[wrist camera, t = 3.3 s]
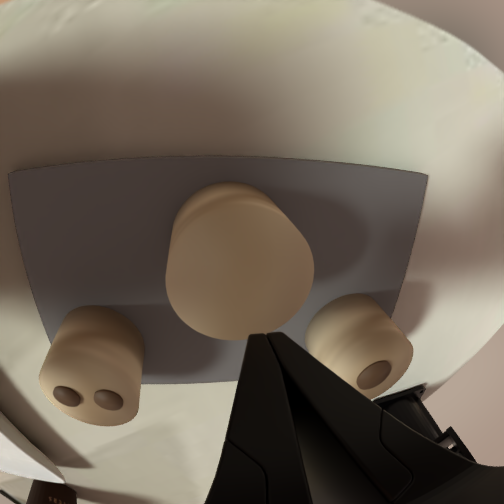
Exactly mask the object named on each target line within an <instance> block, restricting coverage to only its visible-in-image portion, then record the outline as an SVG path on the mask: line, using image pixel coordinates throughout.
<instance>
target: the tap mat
mask: <svg viewBox="0 0 504 504" xmlns="http://www.w3.org/2000/svg"><path fill="white" fill-rule="evenodd" d="M427 177H428V175H425V174H423V173H418V172H412V171H406V170H399V169H392V168H385V167H377V166H369V165H361V164H352V163H342V162H332V161H320V160H307V159H293V158H275V157H249V156H169V157H144V158H127V159H112V160H100V161H89V162H79V163H70V164H61V165H53V166H46V167H39V168H32V169H25V170H19V171H14V172H11V173H9V174H8V179H9V187H10V195H11V202H12V208H13V214H14V220H15V225H16V231H17V235H18V240H19V245H20V249H21V253H22V257H23V261H24V265H25V269H26V273H27V276H28V280H29V283H30V287H31V290H32V293H33V296H34V299H35V303H36V306H37V309H38V311H39V314H40V317H41V320H42V323H43V325H44V328H45V331H46V333H47V336H48V338H49V341H50V343H51V345H52V343H53V340H54V338H55V336H56V334H57V332H58V330H59V327H60V325H61V323H62V321H63V319H64V318H65V316H66V315H67V314H68V313H69V312H70V311H71V310H73V309H75V308H77V307H80V306H86V305H96V306H102V307H106V308H109V309H112V310H114V311H116V312H118V313H120V314H122V315H123V316H125V317H126V318H127V319H129V320H130V321H131V322H132V323H133V324H134V325H135V326H136V327H137V329H138V330H139V332H140V333H141V335H142V337H143V340H144V345H145V352H144V360H143V369H142V378H141V384H191V383H212V382H227V381H238V380H239V375H240V371H241V367H242V362H243V358H244V353H245V349H246V344H247V339H246V340H222V339H217V338H212V337H209V336H206V335H204V334H202V333H199V332H197V331H196V330H194V329H192V328H191V327H190V326H188V325H187V324H186V323H185V322H184V321H183V320H182V319H181V318H180V317H179V316H178V315H177V313H176V312H175V311H174V309H173V307H172V305H171V303H170V301H169V298H168V295H167V291H166V279H165V276H166V269H167V262H168V255H169V248H170V241H171V235H172V229H173V223H174V220H175V217H176V215H177V213H178V211H179V209H180V208H181V206H182V205H183V204H184V202H185V201H186V200H187V199H188V198H189V197H190V196H191V195H193V194H194V193H195V192H197V191H198V190H200V189H202V188H204V187H206V186H208V185H211V184H214V183H219V182H228V181H232V182H241V183H246V184H248V185H251V186H254V187H256V188H257V189H259V190H261V191H262V192H264V193H265V194H266V195H267V196H268V197H269V198H270V199H271V200H272V201H273V202H274V203H275V204H276V205H277V207H278V208H279V209H280V210H281V211H282V212H283V213H284V214H285V215H286V217H287V218H288V219H289V220H290V221H291V222H292V223H293V225H294V226H295V227H296V228H297V229H298V230H299V231H300V233H301V234H302V235H303V237H304V238H305V239H306V241H307V243H308V245H309V247H310V250H311V252H312V256H313V261H314V278H313V283H312V287H311V290H310V292H309V295H308V297H307V299H306V301H305V302H304V304H303V305H302V307H301V308H300V309H299V311H298V312H297V313H296V314H295V315H294V316H293V317H292V318H291V319H290V320H289V321H288V322H286V323H285V324H283V325H282V326H281V327H279V328H277V329H275V330H274V331H272V332H283V333H285V334H286V335H287V336H288V337H290V338H291V339H292V340H293V341H295V342H296V343H297V344H298V345H300V346H301V347H302V348H303V349H305V350H306V351H307V352H308V353H309V351H308V349H307V347H306V344H305V332H306V329H307V327H308V324H309V323H310V321H311V319H312V318H313V317H314V315H315V314H316V313H317V312H318V311H319V310H320V309H321V308H322V307H323V306H325V305H326V304H327V303H329V302H331V301H332V300H334V299H336V298H338V297H341V296H344V295H347V294H355V293H359V294H365V295H368V296H370V297H371V298H373V299H374V300H375V301H376V303H377V304H378V305H379V306H380V307H381V308H382V309H383V311H384V312H385V313H386V314H387V315H388V316H389V318H390V319H391V316H392V313H393V311H394V308H395V305H396V302H397V299H398V296H399V292H400V289H401V286H402V283H403V279H404V276H405V273H406V269H407V266H408V262H409V259H410V255H411V251H412V247H413V243H414V239H415V235H416V231H417V227H418V223H419V218H420V213H421V209H422V204H423V199H424V194H425V188H426V183H427ZM265 335H266V334H265Z"/></svg>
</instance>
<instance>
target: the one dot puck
mask: <svg viewBox="0 0 504 504" xmlns="http://www.w3.org/2000/svg"><path fill="white" fill-rule="evenodd" d="M305 344H306V347H307V349H308V351H309V353H310V354H311V355H312V356H313V357H315V358H316V359H317V360H319V361H320V362H321V363H322V364H324V365H325V366H326V367H328V368H329V369H330V370H331V371H333V372H334V373H335V374H337V375H338V376H339V377H341V378H342V379H343V380H344V381H346V382H347V383H348V384H350V385H351V386H352V387H354V388H355V389H356V390H358V391H359V392H360V393H362V394H363V395H364V396H366V397H367V398H368V399H370V400H371V399H373V398H375V397H377V396H379V395H380V394H382V393H384V392H385V391H387V390H388V389H389V388H390V387H392V386H393V385H394V384H395V383H396V382H397V381H398V380H399V379H400V378H401V377H402V376H403V374H404V373H405V372H406V370H407V369H408V367H409V365H410V363H411V361H412V357H413V346H412V344H411V342H410V341H409V340H408V339H407V338H406V336H405V335H404V334H403V333H402V332H401V331H400V329H399V328H398V327H397V326H396V325H395V323H394V322H393V321H392V320H391V319H390V318H389V316H388V315H387V314H386V313H385V312H384V311H383V309H382V308H381V307H380V306H379V305H378V304H377V303H376V301H375V300H374V299H373V298H371V297H370V296H368V295H365V294H359V293H355V294H347V295H344V296H341V297H338V298H336V299H334V300H332V301H331V302H329V303H327V304H326V305H325V306H323V307H322V308H321V309H320V310H319V311H318V312H317V313H316V314H315V315H314V317H313V318H312V319H311V321H310V323H309V324H308V327H307V329H306V332H305Z"/></svg>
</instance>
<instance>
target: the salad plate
mask: <svg viewBox="0 0 504 504" xmlns="http://www.w3.org/2000/svg"><path fill="white" fill-rule="evenodd" d="M0 471H2V472H5V473H9V474H13V475H17V476H22V477H26V478H31V479H37V480H42V481H48V482H54V483H65V478H64V476H63V475H62V473H61V472H60V470H59V469H58V468H57V467H56V466H55V465H54V464H53V462H52V461H51V460H49V459H48V458H47V457H46V456H45V455H44V454H43V453H42V452H41V451H40V450H39V449H37V448H36V447H35V446H34V445H33V444H32V443H30V442H29V440H28V439H27V438H26V437H25V436H24V435H23V434H22V433H21V432H20V431H19V430H18V429H17V428H16V427H15V426H14V425H13V424H12V423H11V422H10V421H9V420H8V419H7V418H6V417H5V416H4V415H3V414H2V412H1V411H0Z"/></svg>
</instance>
